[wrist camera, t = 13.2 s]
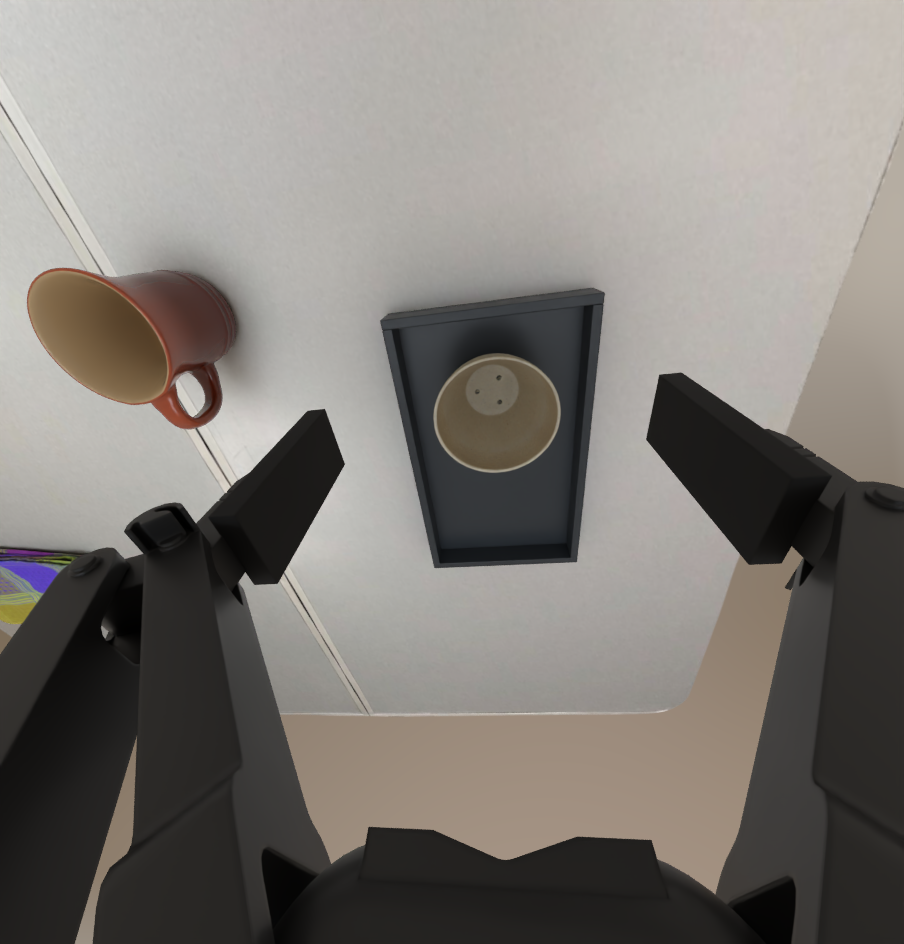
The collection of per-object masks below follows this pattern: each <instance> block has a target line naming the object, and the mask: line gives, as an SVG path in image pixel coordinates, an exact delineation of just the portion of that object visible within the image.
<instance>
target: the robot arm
mask: <svg viewBox="0 0 904 944" xmlns="http://www.w3.org/2000/svg"><path fill="white" fill-rule="evenodd" d="M646 440H647V441H648V442H649V444H650V445H651V446H652V447H653V449H654V450H655V451H656V452H657V453H658V455H659V456H660V457H661V458H662V459H663V461H664V462H665V463H666V464H667V466H668V467H669V468H670V469H671V470H672V472H673V473H674V474H675V475H676V477H677V478H678V479H679V480H680V481H681V483H682V484H683V485H684V486H685V488H686V489H687V490H688V491H689V492H690V494H691V495H692V496H693V497H694V498H695V500H696V501H697V502H698V503H699V505H700V506H701V507H702V508H703V509H704V511H705V512H706V513H707V514H708V516H709V517H710V518H711V519H712V520H713V522H714V523H715V524H716V525H717V526H718V528H719V529H720V530H721V531H722V533H723V534H724V535H725V536H726V537H727V539H728V540H729V541H730V542H731V544H732V545H733V546H734V547H735V548H736V550H737V551H738V552H739V553H740V555H741V556H742V557H743V558H744V559H745V561H746V562H747V563H748V564H749V565H754V564H779V563H782V562H783V560H784V558H785V556H786V555H787V553H788V551H789V550H790V548H791V546H792V547H793V548H795V550H797V552H798V553H799V554H800V555H801V556H802V557H803V559H802V561H801V562H800V564H799V566H798V567H797V569H796V571H795V572H794V574H793V575H792V577H791V579H790V580H789V582H788V583H787V585H786V587H785V588H786V589H789V590H791V589H792V588H793V589H792V593H791V598H790V602H789V607H788V611H787V616H786V620H785V625H784V630H783V634H782V639H781V643H780V648H779V652H778V657H777V661H776V666H775V670H774V675H773V679H772V684H771V688H770V694H769V698H768V702H767V707H766V711H765V716H764V720H763V725H762V730H761V734H760V739H759V743H758V748H757V752H756V757H755V761H754V766H753V770H752V775H751V780H750V784H749V788H748V793H747V798H746V802H745V807H744V811H743V816H742V820H741V825H740V828H739V832H738V835H737V838H736V841H735V843H734V845H733V847H732V849H731V851H730V853H729V855H728V857H727V859H726V861H725V865H724V867H723V870H722V872H721V876H720V880H719V883H718V887H717V891H716V895H715V894H714V893H713V892H711V891H710V890H709V889H707V888H706V887H704V886H703V885H702V884H700V883H699V882H697V881H696V880H695V879H693V878H692V877H690V876H689V875H687V874H685V873H684V872H682V871H680V870H678V869H676V868H675V867H673V866H671V865H669V864H667V863H665V862H662V861H660V860H658V859H657V858H656V854H655V851H654V847H653V844H652V840H635V839H615V838H594V837H575V838H572V839H569V840H566V841H563V842H560V843H557V844H555V845H552V846H549V847H546V848H543V849H540V850H537V851H534V852H532V853H528V854H525V855H523V856H520V857H517V858H514V859H510V860H501V859H497V858H495V857H493V856H491V855H488V854H486V853H484V852H482V851H479V850H477V849H475V848H473V847H470V846H468V845H466V844H464V843H461V842H459V841H457V840H454V839H452V838H450V837H448V836H445V835H443V834H441V833H439V832H436V831H434V830H422V829H401V828H380V827H369V828H368V834H367V839H366V844H365V845H364V846H361V847H358V848H357V849H355V850H353V851H351V852H349V853H347V854H345V855H343V856H342V857H341V858H339V859H338V860H336V861H335V862H334V863H332V864H331V862H330V860H329V856H328V853H327V851H326V849H325V846H324V844H323V842H322V839H321V837H320V835H319V834H318V832H317V830H316V828H315V826H314V825H313V823H312V821H311V819H310V816H309V814H308V811H307V808H306V804H305V801H304V797H303V794H302V791H301V787H300V783H299V780H298V776H297V773H296V770H295V766H294V763H293V759H292V756H291V752H290V749H289V745H288V742H287V738H286V735H285V731H284V728H283V725H282V721H281V717H280V714H279V710H278V707H277V703H276V700H275V696H274V693H273V690H272V686H271V683H270V679H269V676H268V672H267V669H266V665H265V662H264V658H263V655H262V651H261V648H260V644H259V641H258V637H257V634H256V630H255V627H254V623H253V620H252V617H251V613H250V610H249V606H248V603H247V599H246V596H245V592H244V589H243V588H242V587H241V585H240V584H239V580H240V579H241V577H242V576H243V574H244V573H245V572H246V573H247V575H248V576H249V578H250V579H251V581H252V582H253V584H254V585H261V584H278V582H279V580H280V579H281V577H282V575H283V573H284V571H285V570H286V568H287V566H288V564H289V563H290V561H291V559H292V557H293V555H294V554H295V552H296V550H297V548H298V547H299V545H300V543H301V541H302V540H303V538H304V536H305V534H306V532H307V531H308V529H309V527H310V525H311V524H312V522H313V520H314V518H315V516H316V515H317V513H318V511H319V509H320V508H321V506H322V504H323V502H324V500H325V499H326V497H327V495H328V493H329V492H330V490H331V488H332V486H333V484H334V483H335V481H336V479H337V477H338V476H339V474H340V472H341V470H342V468H343V467H344V465H345V463H344V461H343V458H342V455H341V452H340V450H339V447H338V444H337V441H336V438H335V436H334V433H333V430H332V427H331V424H330V422H329V419H328V416H327V413H326V411H325V409H321V410H311V411H307V412H306V413H305V414H304V415H303V416H302V417H301V419H300V420H299V421H298V422H297V423H296V424H295V425H294V426H293V427H292V428H291V429H290V430H289V431H288V432H287V433H286V434H285V436H284V437H283V438H282V439H281V440H280V441H279V442H278V443H277V444H276V445H275V446H274V447H273V448H272V449H271V450H270V452H269V453H268V454H267V455H266V456H265V457H264V458H263V459H262V460H261V461H260V462H259V463H258V464H257V465H256V466H255V468H254V469H253V470H252V471H251V472H250V473H249V474H247V475H245V476H244V477H242V478H241V479H239V480H238V481H236V482H235V483H234V485H233V486H232V487H231V488H230V489H229V490H228V491H227V493H225V494H224V495H223V496H222V497H221V498H220V499H219V500H220V501H217V502H216V503H215V504H214V505H213V506H212V507H211V509H210V510H209V511H208V512H207V513H206V514H205V515H204V516H203V517H202V518H201V519H200V520H199V521H198V522H197V523H195V522H194V520H193V519H192V518H191V516H190V515H189V513H188V512H187V511H186V509H185V508H184V507H183V505H182V504H181V503H168V504H164V505H161V506H157V507H155V508H152V509H150V510H148V511H146V512H144V513H143V514H141V515H139V516H138V517H136V518H135V519H134V520H133V521H131V522H130V523H129V524H128V525H127V527H126V529H125V531H124V532H125V533H126V535H127V536H128V537H129V538H130V539H131V540H132V541H133V542H134V544H135V545H136V546H137V547H138V548H139V549H140V550H141V551H142V552H143V554H142V555H138V556H134V557H131V558H127V559H124V558H123V557H122V556H121V555H120V554H119V553H118V552H117V551H116V550H115V549H114V548H102V549H98V550H95V551H92V552H90V553H86V554H84V555H81V556H80V558H79V557H78V558H76V559H74V560H73V561H72V562H71V563H70V564H69V565H67V566H66V567H64V568H63V569H62V570H61V571H60V572H59V573H58V574H57V575H56V577H55V578H54V579H53V581H52V582H51V584H50V585H49V586H48V588H47V589H46V591H45V592H44V593H43V595H42V596H41V598H40V599H39V601H38V602H37V603H36V605H35V606H34V608H33V609H32V610H31V612H30V613H29V615H28V616H27V617H26V619H25V620H24V622H23V623H22V624H21V626H20V627H19V629H18V630H17V631H16V633H15V634H14V636H13V637H12V639H11V640H10V642H9V643H8V644H7V646H6V647H5V649H4V650H3V651H2V653H1V654H0V944H75V940H76V937H77V934H78V930H79V927H80V924H81V920H82V917H83V913H84V910H85V907H86V904H87V900H88V897H89V894H90V890H91V887H92V884H93V880H94V877H95V874H96V870H97V867H98V864H99V860H100V857H101V854H102V850H103V847H104V844H105V840H106V837H107V833H108V830H109V827H110V823H111V820H112V817H113V813H114V810H115V807H116V803H117V800H118V797H119V793H120V790H121V787H122V783H123V780H124V777H125V773H126V770H127V767H128V763H129V760H130V756H131V753H132V750H133V747H134V743H135V740H136V737H137V752H136V777H135V801H134V803H135V804H134V826H133V838H132V844H131V846H130V849H129V851H128V853H127V854H126V855H125V856H124V857H122V858H121V859H120V860H119V861H118V862H116V863H115V864H114V865H113V866H112V867H110V869H109V871H108V872H107V874H106V876H105V878H104V880H103V882H102V884H101V887H100V892H99V897H98V902H97V907H96V915H95V925H94V937H93V944H904V488H901V487H898V486H895V485H891V484H885V483H879V482H857V481H856V480H854V479H852V478H851V477H849V476H848V475H846V474H845V473H843V472H842V471H840V470H839V469H837V468H836V467H834V466H833V465H831V464H830V463H828V462H826V461H825V460H823V459H822V458H820V457H816V454H814V453H813V452H811V451H810V450H808V449H807V448H805V449H804V448H803V446H802V445H801V444H799V443H797V442H796V441H794V440H793V439H791V438H790V437H788V436H785V435H783V434H780V433H778V432H775V431H772V430H770V429H763V428H762V427H760V426H759V425H757V424H756V423H754V422H753V421H752V420H750V419H749V418H747V417H746V416H744V415H743V414H741V413H740V412H738V411H737V410H735V409H734V408H732V407H731V406H730V405H728V404H727V403H725V402H724V401H722V400H721V399H719V398H718V397H716V396H715V395H713V394H712V393H711V392H709V391H708V390H706V389H705V388H703V387H702V386H700V385H699V384H697V383H696V382H694V381H693V380H692V379H690V378H689V377H687V376H686V375H684V374H683V373H672V374H663V375H659V379H658V384H657V389H656V394H655V399H654V404H653V409H652V414H651V418H650V423H649V428H648V433H647V438H646ZM101 625H102V626H103V627H104V628H105V629H106V630H108V631H109V632H108V634H107V637H106V639H105V638H104V637H103V635H102V631H101Z"/></svg>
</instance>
